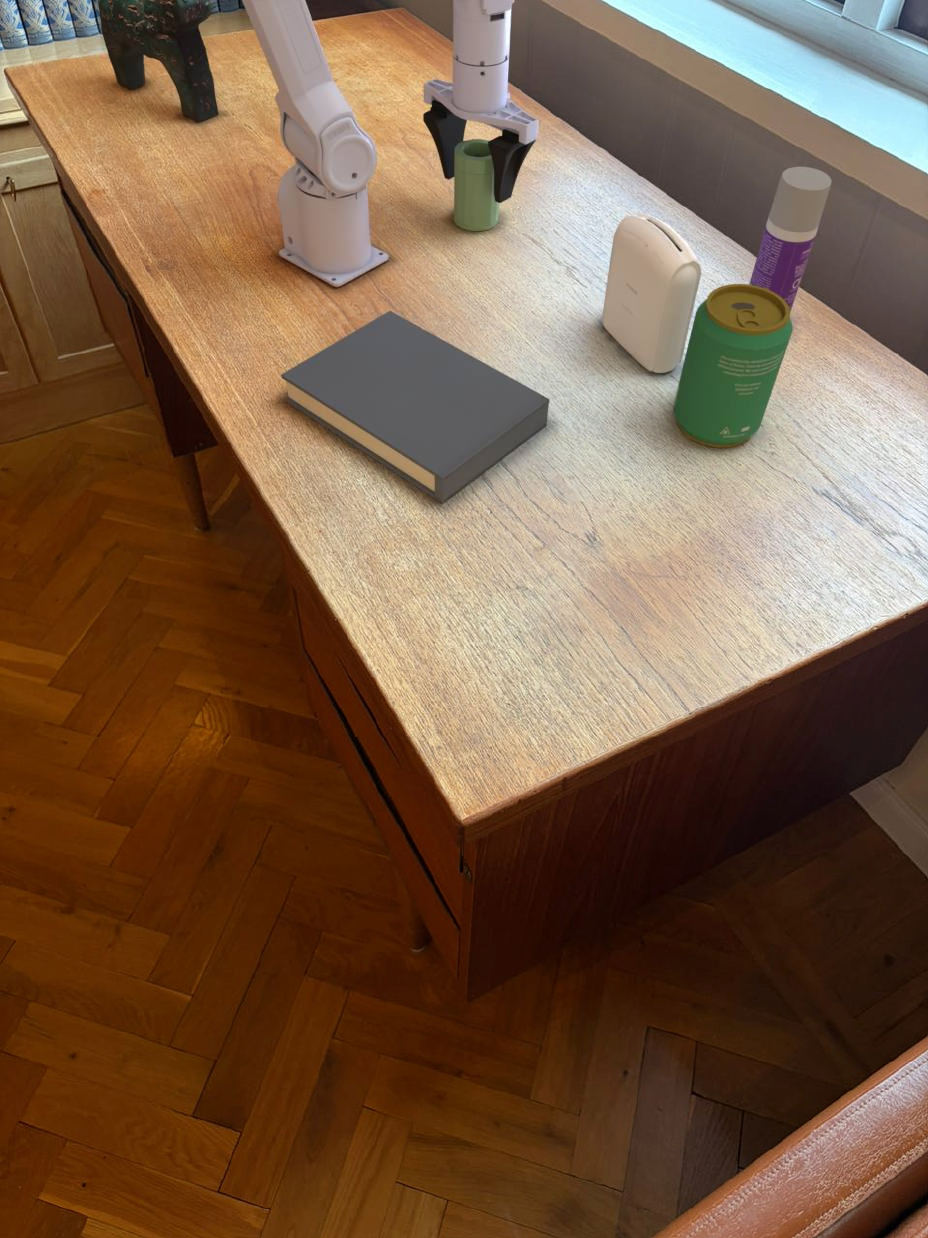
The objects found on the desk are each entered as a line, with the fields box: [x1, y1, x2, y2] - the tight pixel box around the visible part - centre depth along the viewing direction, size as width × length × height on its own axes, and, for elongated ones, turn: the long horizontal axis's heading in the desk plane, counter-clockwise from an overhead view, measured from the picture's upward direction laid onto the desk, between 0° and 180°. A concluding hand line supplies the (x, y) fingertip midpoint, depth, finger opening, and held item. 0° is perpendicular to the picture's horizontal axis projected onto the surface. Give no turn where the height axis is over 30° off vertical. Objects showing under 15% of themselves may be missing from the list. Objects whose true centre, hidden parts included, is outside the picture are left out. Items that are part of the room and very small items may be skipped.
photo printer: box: [601, 212, 702, 374], centre depth 89 cm, size 10×4×12 cm, turn 26°
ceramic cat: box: [97, 0, 219, 123], centre depth 118 cm, size 20×6×20 cm, turn 49°
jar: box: [453, 138, 500, 232], centre depth 105 cm, size 5×5×8 cm
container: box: [748, 166, 832, 313], centre depth 90 cm, size 5×5×15 cm
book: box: [280, 310, 551, 505], centre depth 85 cm, size 20×14×3 cm
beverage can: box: [672, 283, 794, 448], centre depth 82 cm, size 8×8×12 cm
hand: (477, 187), depth 105 cm, fingers open, 7 cm apart
